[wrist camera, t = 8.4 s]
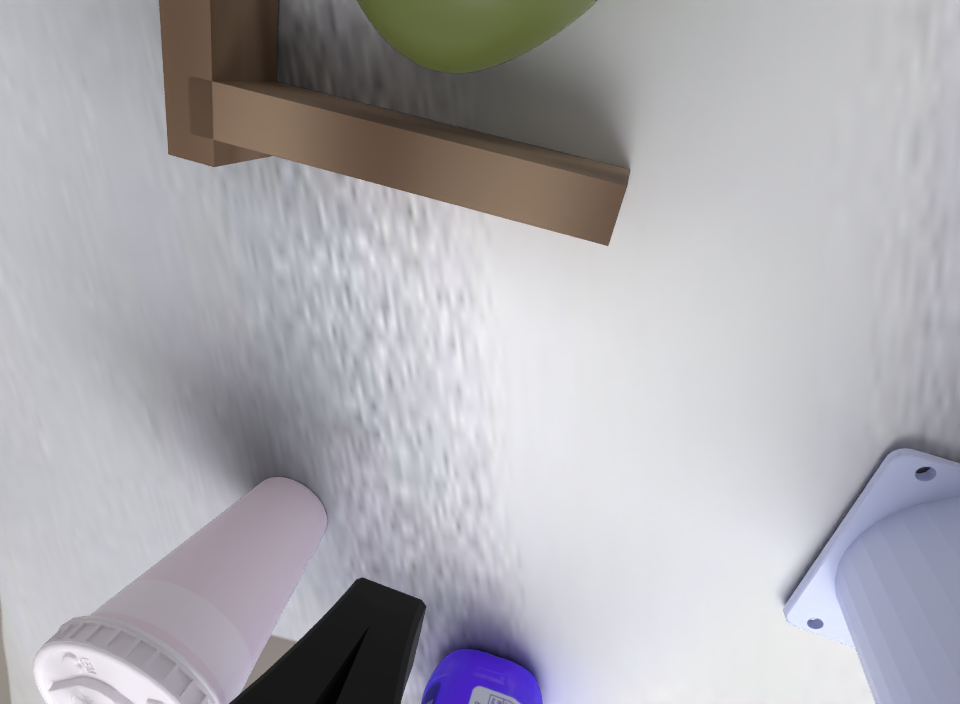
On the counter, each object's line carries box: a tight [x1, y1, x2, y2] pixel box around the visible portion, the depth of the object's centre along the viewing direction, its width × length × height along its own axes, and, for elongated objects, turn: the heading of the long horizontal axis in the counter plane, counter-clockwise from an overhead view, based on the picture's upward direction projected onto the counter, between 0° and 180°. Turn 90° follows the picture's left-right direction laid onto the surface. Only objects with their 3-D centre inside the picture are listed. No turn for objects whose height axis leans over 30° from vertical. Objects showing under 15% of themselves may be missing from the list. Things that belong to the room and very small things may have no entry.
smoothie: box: [33, 477, 327, 704], centre depth 20 cm, size 6×6×14 cm
